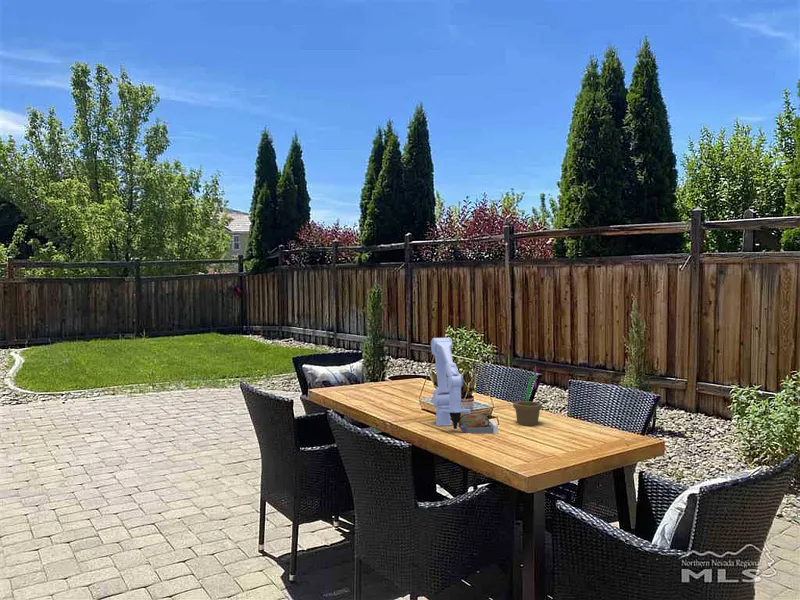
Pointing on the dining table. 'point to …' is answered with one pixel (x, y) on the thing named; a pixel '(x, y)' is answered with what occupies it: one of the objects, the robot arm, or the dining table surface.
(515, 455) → the dining table surface
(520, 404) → the flowerpot
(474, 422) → the tin
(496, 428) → the bay
